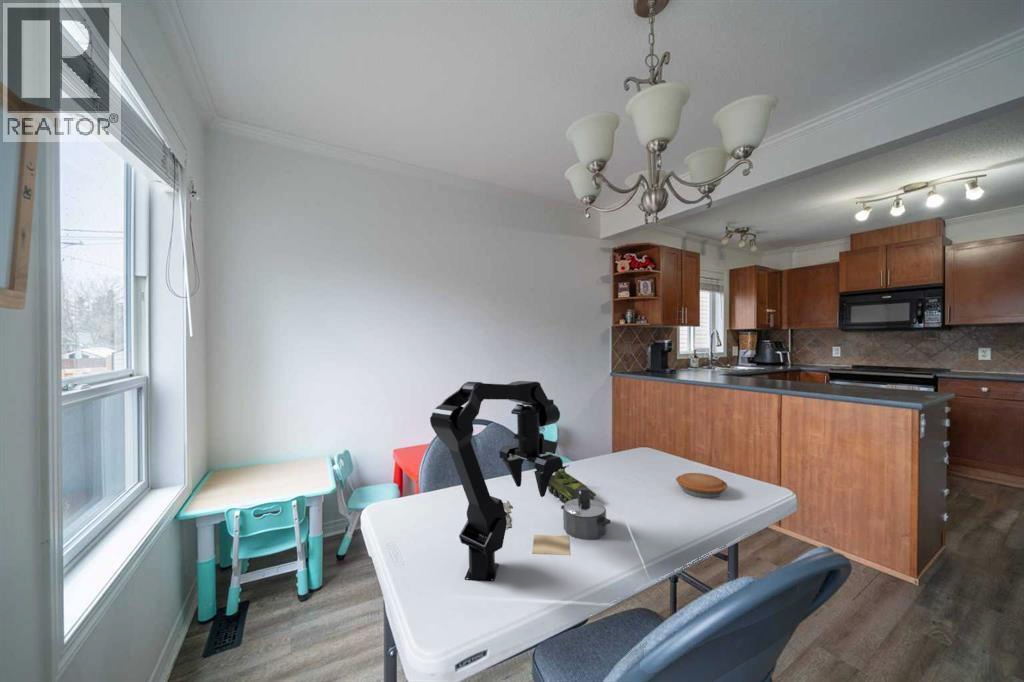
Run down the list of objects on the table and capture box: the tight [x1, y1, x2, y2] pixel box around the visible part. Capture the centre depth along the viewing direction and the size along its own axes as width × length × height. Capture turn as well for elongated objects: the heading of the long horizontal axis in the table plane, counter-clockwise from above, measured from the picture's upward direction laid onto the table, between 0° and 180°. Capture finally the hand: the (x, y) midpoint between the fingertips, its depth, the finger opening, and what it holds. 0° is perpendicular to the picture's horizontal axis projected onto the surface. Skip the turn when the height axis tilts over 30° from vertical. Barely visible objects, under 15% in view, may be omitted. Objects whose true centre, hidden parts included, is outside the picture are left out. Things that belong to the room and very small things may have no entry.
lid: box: [563, 487, 606, 518], centre depth 99 cm, size 11×11×6 cm
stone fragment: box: [503, 500, 512, 531], centre depth 109 cm, size 25×3×10 cm
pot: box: [560, 504, 611, 541], centre depth 99 cm, size 14×11×6 cm
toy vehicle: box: [547, 464, 597, 505], centre depth 123 cm, size 9×20×10 cm, turn 20°
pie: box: [675, 472, 728, 500], centre depth 124 cm, size 16×16×5 cm
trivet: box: [531, 534, 571, 556], centre depth 91 cm, size 9×9×1 cm
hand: (530, 491), depth 94 cm, fingers open, 9 cm apart
